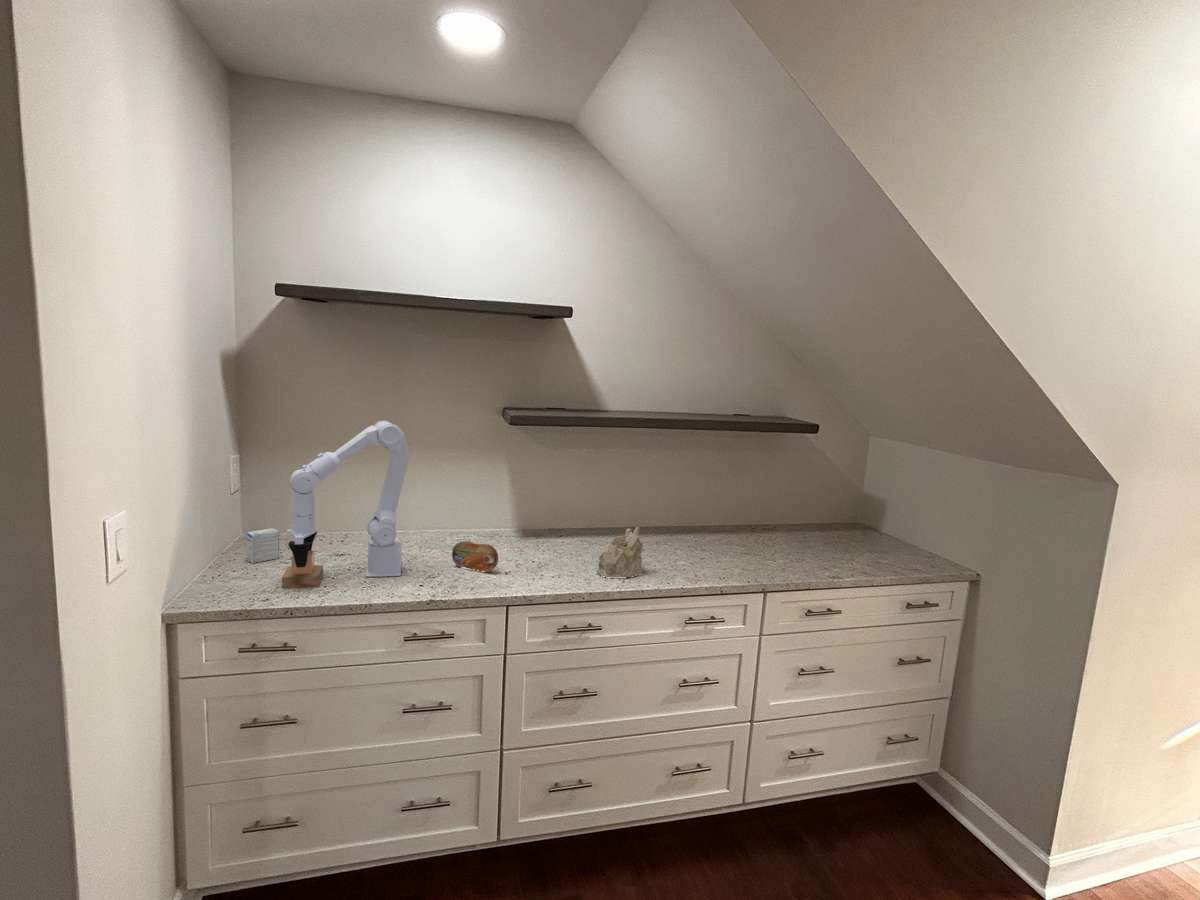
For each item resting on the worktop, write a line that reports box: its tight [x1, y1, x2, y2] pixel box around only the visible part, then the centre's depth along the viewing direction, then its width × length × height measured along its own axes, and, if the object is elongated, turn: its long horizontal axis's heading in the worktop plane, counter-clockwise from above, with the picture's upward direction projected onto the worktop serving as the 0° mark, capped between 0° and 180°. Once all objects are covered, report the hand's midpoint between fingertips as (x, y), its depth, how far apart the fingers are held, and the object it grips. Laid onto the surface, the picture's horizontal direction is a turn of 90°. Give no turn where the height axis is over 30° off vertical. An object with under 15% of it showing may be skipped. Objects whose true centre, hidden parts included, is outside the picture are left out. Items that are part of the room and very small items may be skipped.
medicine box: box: [245, 527, 281, 564], centre depth 188 cm, size 8×4×9 cm, turn 141°
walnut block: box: [281, 564, 324, 589], centre depth 173 cm, size 9×9×3 cm
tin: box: [451, 540, 499, 573], centre depth 191 cm, size 15×3×8 cm, turn 68°
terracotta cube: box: [290, 549, 315, 574], centre depth 172 cm, size 5×5×5 cm
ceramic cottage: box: [595, 526, 644, 577], centre depth 198 cm, size 16×16×15 cm
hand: (303, 562), depth 172 cm, fingers open, 7 cm apart
